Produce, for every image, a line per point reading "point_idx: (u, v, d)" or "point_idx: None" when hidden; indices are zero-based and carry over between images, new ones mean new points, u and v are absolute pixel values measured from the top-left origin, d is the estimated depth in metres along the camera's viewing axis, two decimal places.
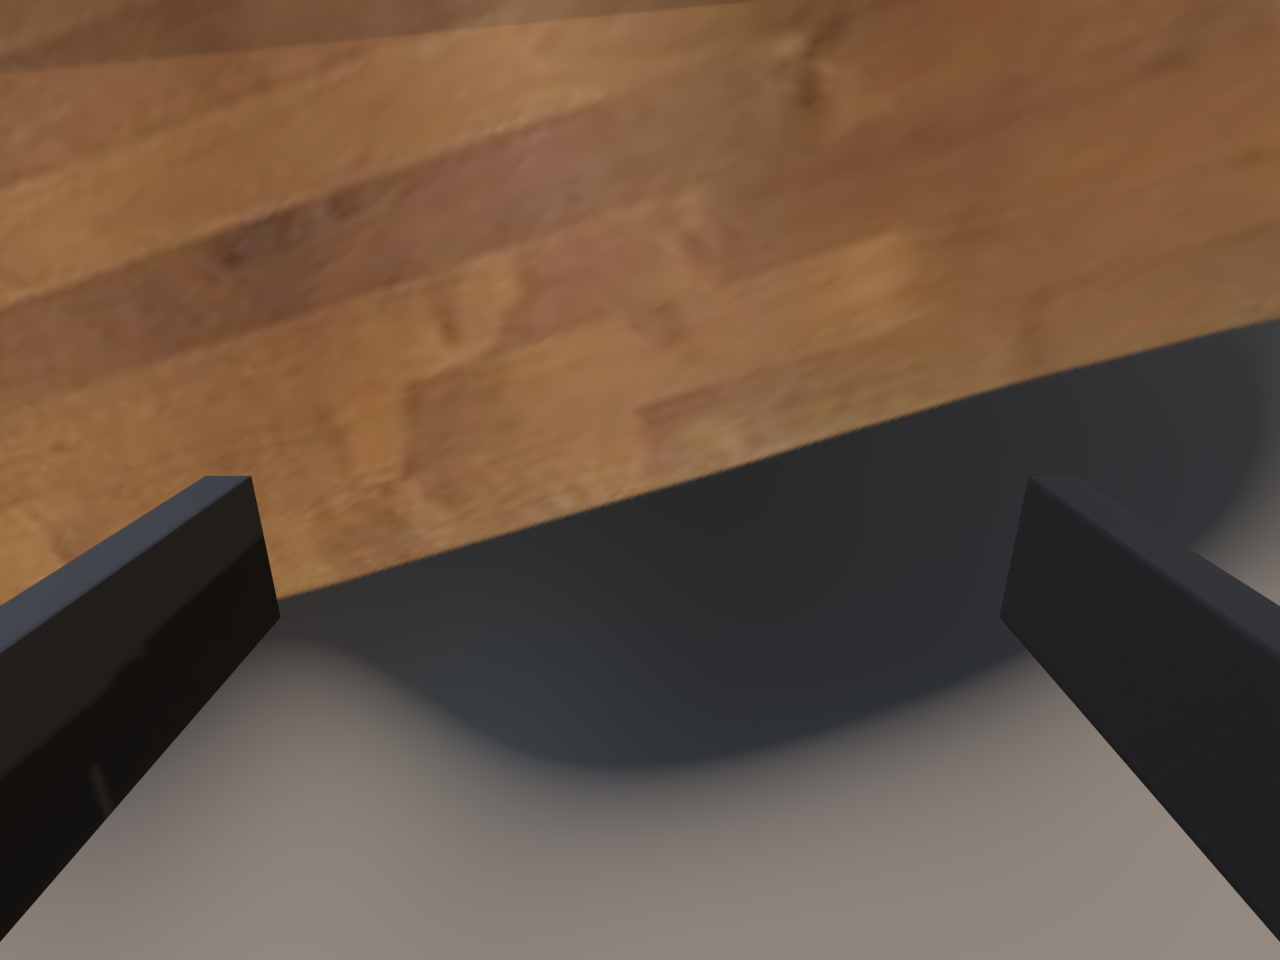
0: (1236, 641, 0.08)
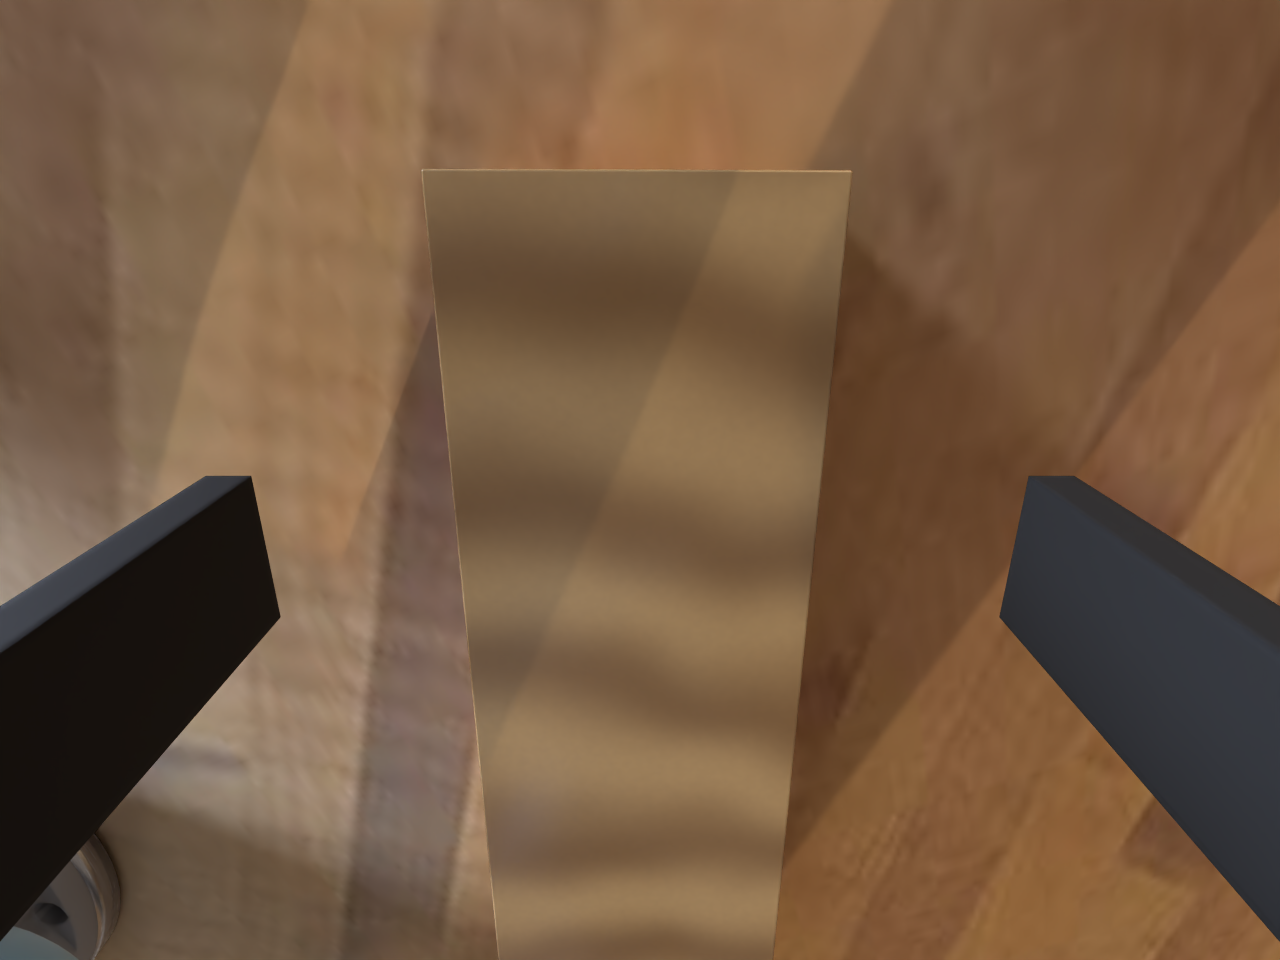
0: (1236, 641, 0.08)
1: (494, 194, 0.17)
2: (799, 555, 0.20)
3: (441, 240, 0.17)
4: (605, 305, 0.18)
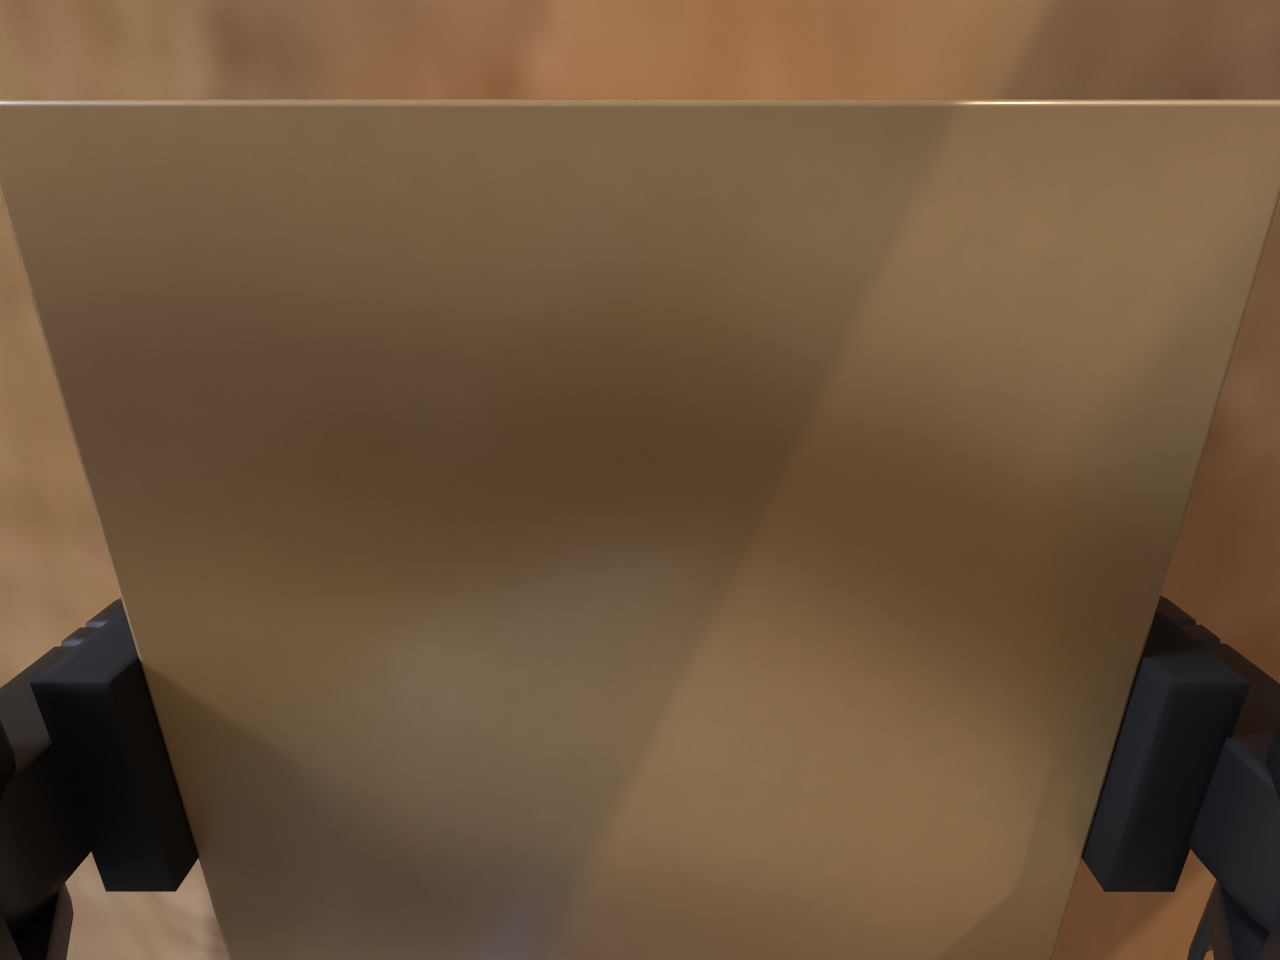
0: None
1: (208, 179, 0.06)
2: None
3: (73, 313, 0.06)
4: (555, 483, 0.06)
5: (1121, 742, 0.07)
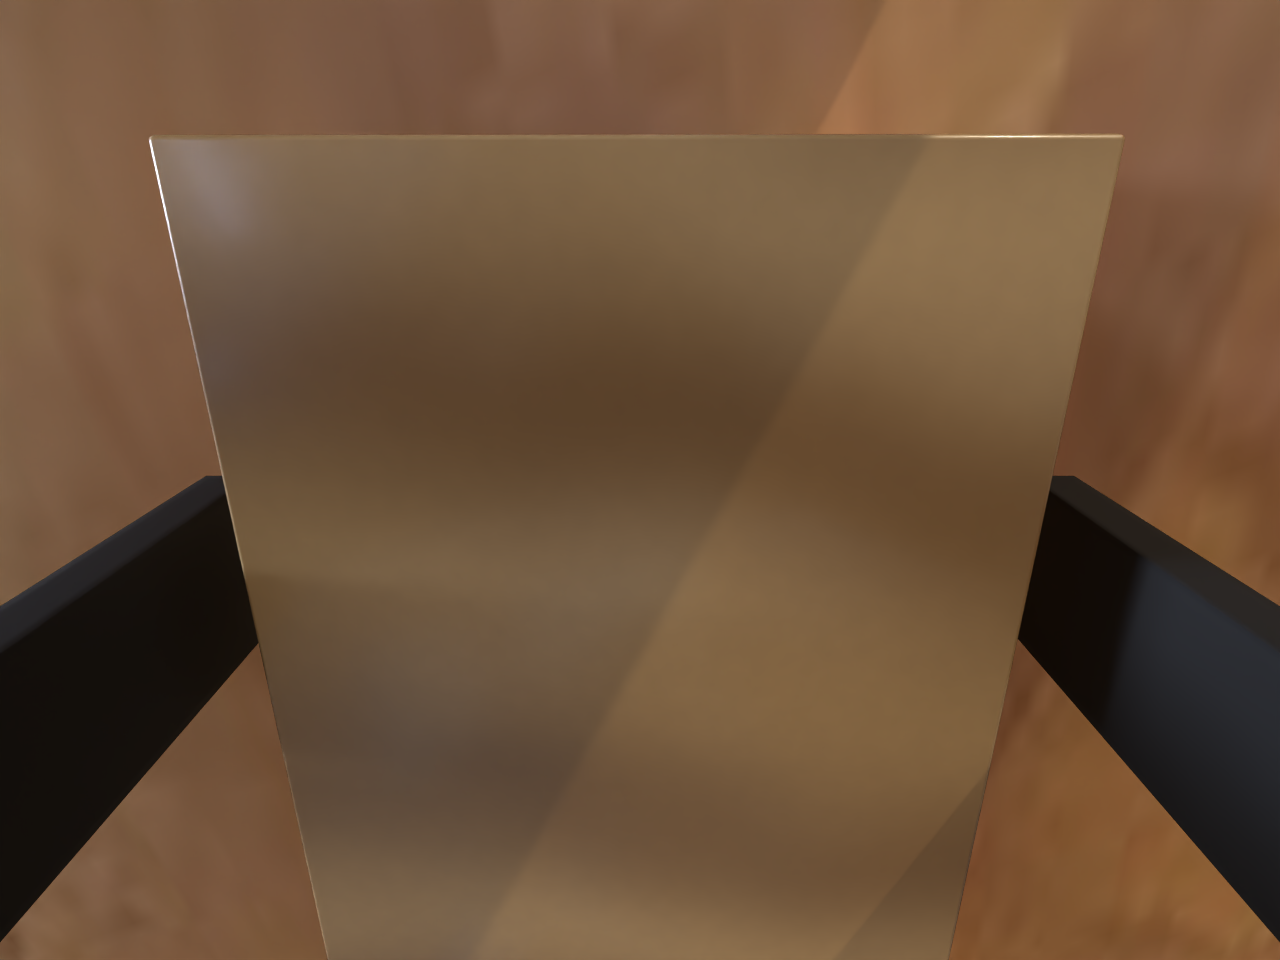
0: (1235, 641, 0.08)
1: (316, 192, 0.08)
2: (942, 867, 0.11)
3: (210, 292, 0.08)
4: (569, 425, 0.08)
5: None
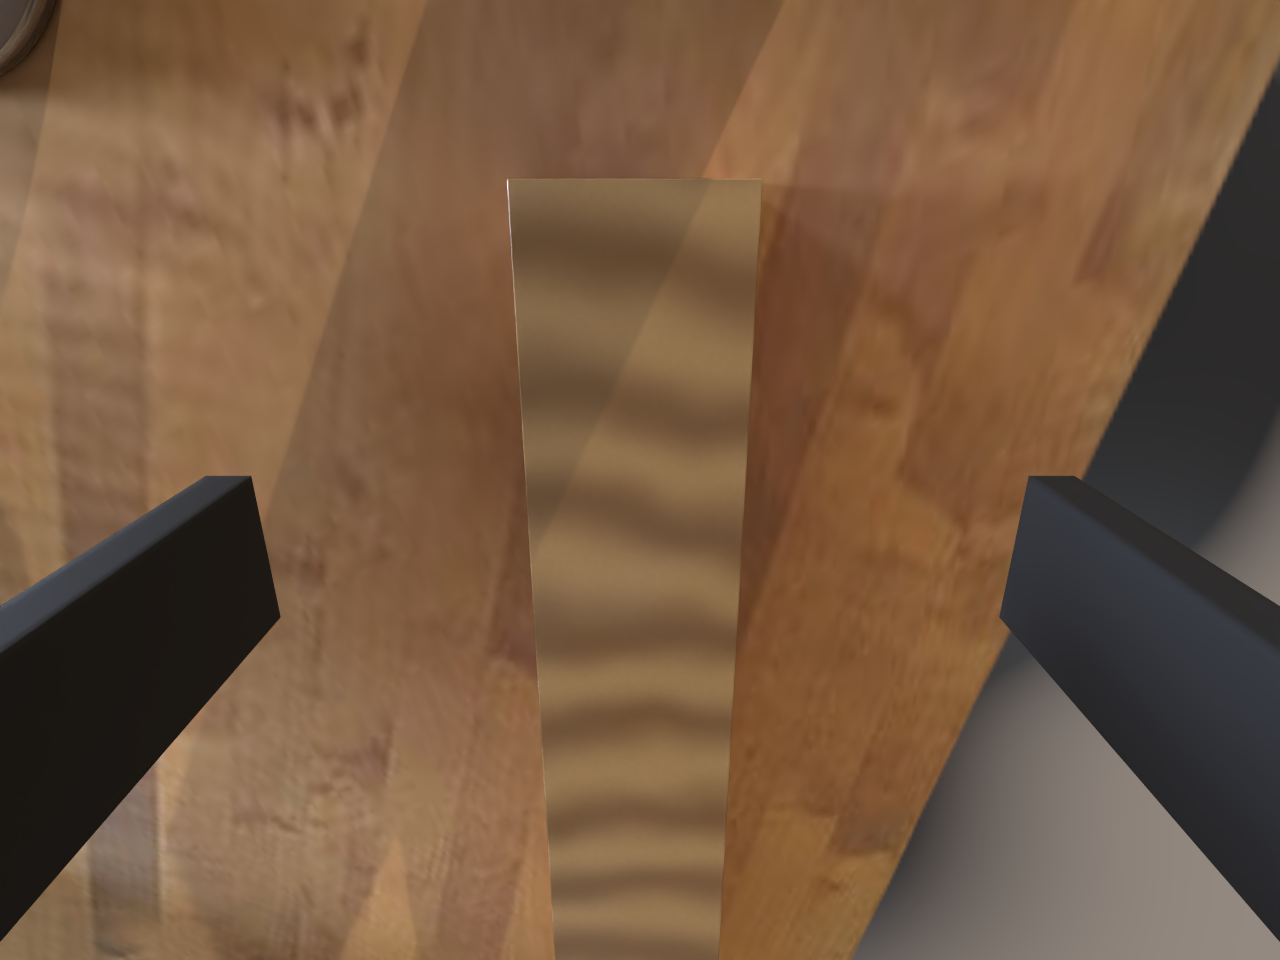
0: (1236, 641, 0.08)
1: (550, 193, 0.28)
2: (739, 423, 0.32)
3: (517, 221, 0.29)
4: (615, 260, 0.29)
5: None
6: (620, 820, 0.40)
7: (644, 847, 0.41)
